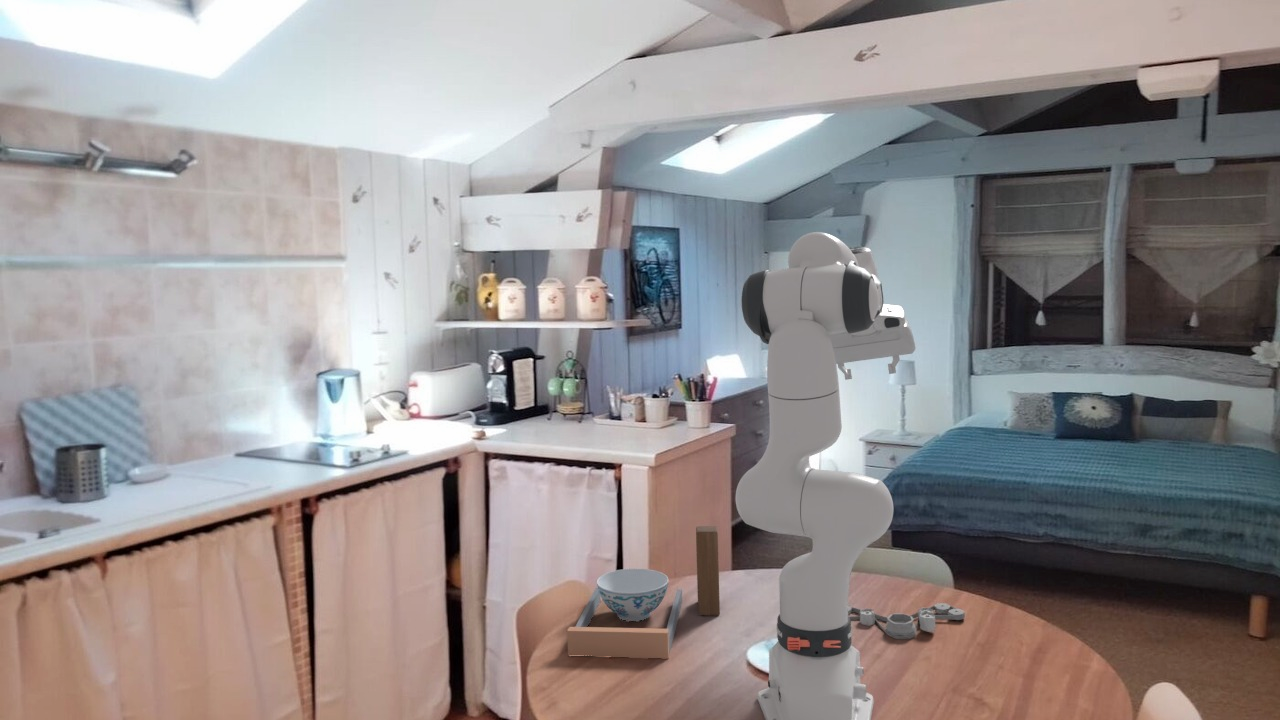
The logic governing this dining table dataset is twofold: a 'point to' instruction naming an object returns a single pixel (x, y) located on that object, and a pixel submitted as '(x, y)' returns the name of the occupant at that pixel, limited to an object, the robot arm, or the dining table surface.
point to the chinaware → (632, 592)
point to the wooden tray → (621, 635)
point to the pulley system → (908, 619)
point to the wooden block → (707, 570)
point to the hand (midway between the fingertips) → (870, 375)
